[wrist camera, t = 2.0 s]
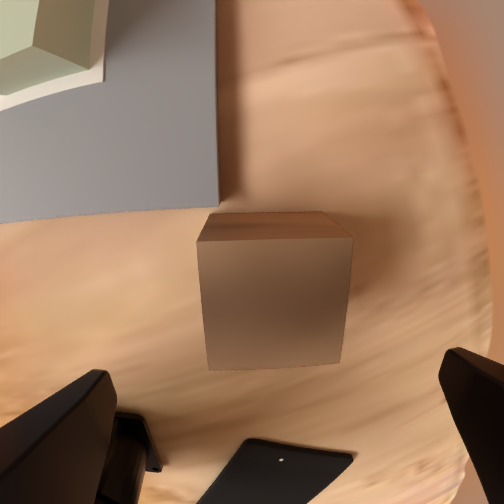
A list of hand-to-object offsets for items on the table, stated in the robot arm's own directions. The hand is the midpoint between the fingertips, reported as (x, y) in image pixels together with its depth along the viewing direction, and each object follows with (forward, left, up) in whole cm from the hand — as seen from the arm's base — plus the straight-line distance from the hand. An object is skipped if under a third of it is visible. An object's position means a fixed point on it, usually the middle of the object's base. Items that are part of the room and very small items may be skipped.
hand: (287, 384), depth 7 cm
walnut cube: (0, 0, -8) cm, 8 cm away
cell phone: (-22, +1, -9) cm, 24 cm away
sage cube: (+12, +10, -7) cm, 17 cm away
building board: (+11, +9, -8) cm, 16 cm away
